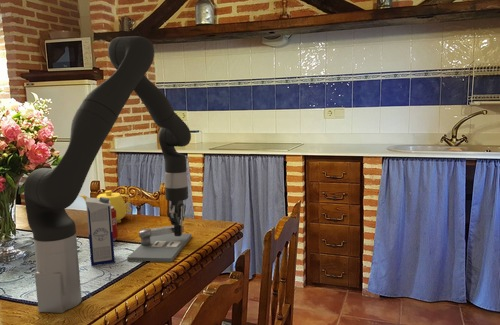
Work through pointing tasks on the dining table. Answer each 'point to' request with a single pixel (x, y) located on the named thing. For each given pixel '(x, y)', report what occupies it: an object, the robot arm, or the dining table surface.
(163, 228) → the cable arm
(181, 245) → the panel
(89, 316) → the dining table surface
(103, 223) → the milk carton
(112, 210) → the beverage can
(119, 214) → the teapot
